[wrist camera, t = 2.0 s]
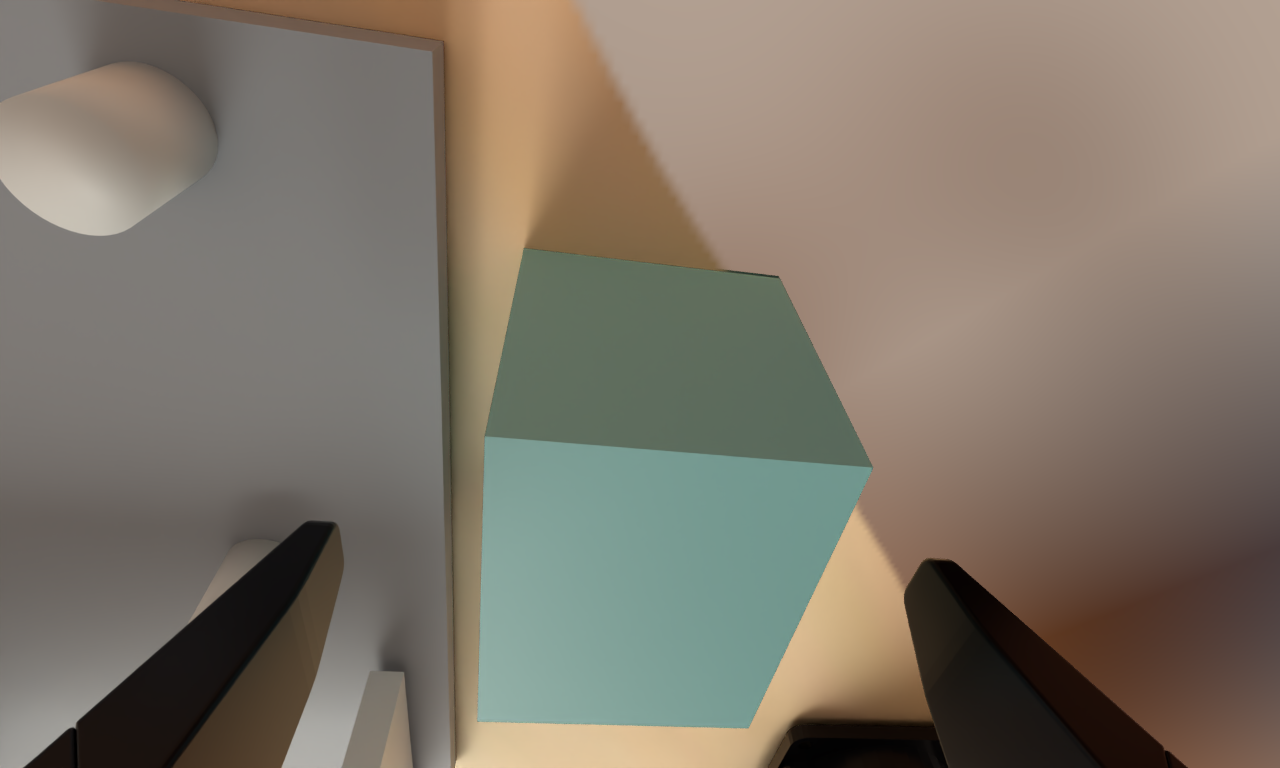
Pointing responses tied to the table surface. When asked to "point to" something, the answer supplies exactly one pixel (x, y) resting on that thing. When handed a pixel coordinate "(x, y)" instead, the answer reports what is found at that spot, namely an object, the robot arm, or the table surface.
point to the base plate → (219, 349)
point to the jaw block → (653, 494)
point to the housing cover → (381, 725)
